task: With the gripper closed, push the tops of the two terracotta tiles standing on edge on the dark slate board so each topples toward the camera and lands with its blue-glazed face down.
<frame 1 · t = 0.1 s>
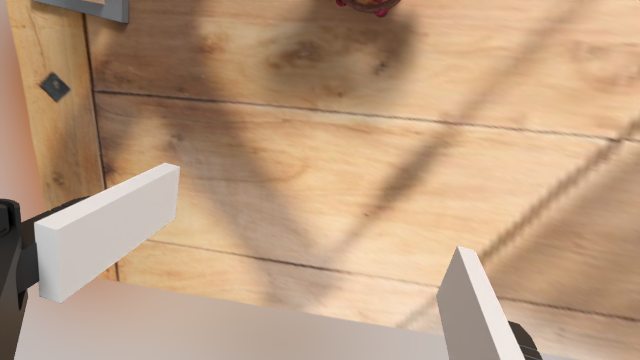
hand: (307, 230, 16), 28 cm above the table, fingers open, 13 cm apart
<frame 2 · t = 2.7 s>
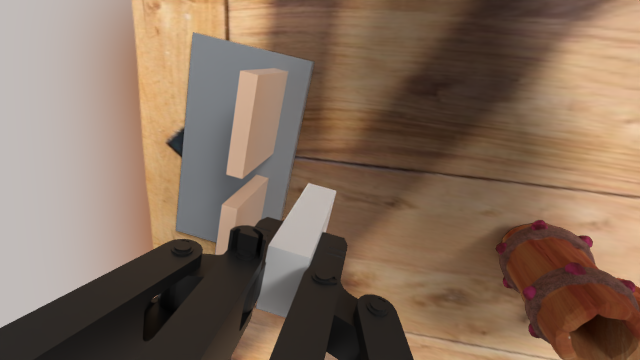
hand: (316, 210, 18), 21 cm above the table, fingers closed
mug: (554, 253, 39), on the table
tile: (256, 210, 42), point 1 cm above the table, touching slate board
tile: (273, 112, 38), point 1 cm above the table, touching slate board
slate board: (239, 153, 41), on the table
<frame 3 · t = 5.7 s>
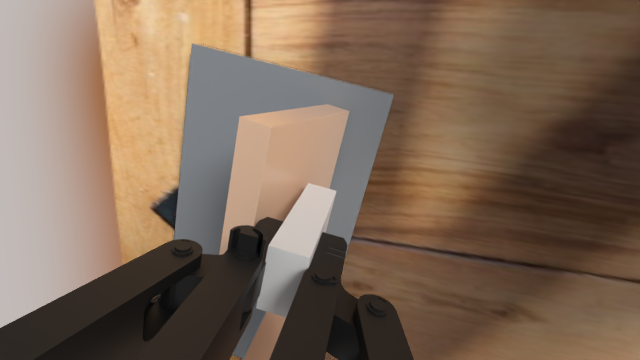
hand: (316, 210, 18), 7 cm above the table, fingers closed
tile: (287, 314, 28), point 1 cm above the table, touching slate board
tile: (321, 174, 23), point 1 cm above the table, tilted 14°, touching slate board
slate board: (263, 228, 27), on the table
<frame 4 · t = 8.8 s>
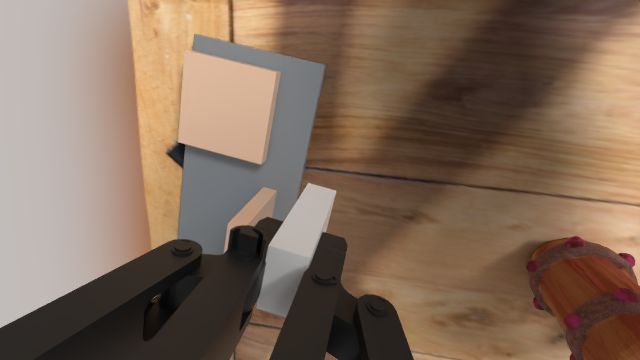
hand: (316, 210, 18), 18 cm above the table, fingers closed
mug: (588, 270, 36), on the table
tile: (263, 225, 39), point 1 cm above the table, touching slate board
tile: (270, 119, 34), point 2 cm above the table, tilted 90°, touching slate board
slate board: (245, 164, 38), on the table
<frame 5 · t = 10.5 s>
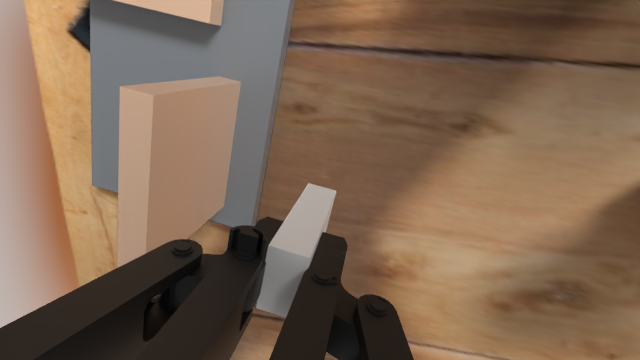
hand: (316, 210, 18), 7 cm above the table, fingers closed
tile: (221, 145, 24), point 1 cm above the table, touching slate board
slate board: (191, 42, 24), on the table
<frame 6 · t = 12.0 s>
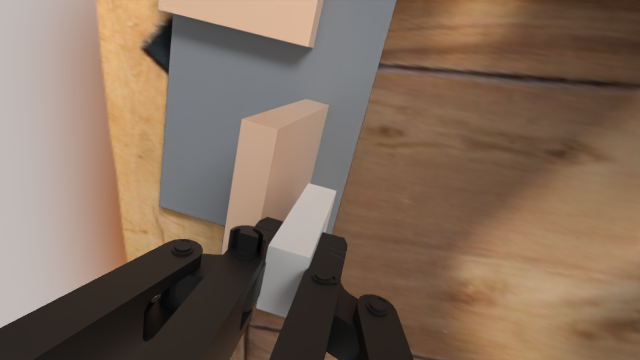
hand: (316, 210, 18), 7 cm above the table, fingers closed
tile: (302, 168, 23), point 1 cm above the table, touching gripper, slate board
slate board: (274, 63, 23), on the table
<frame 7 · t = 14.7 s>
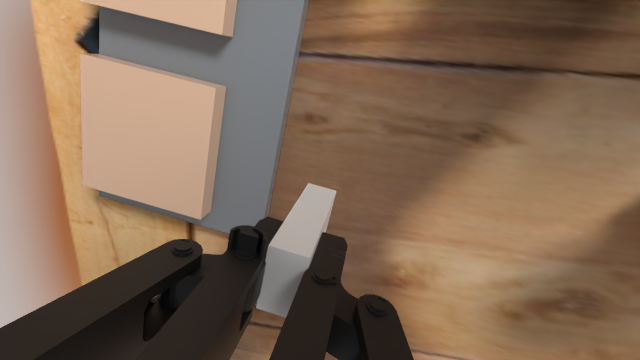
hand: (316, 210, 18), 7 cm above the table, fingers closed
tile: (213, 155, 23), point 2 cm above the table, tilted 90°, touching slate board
slate board: (201, 53, 23), on the table
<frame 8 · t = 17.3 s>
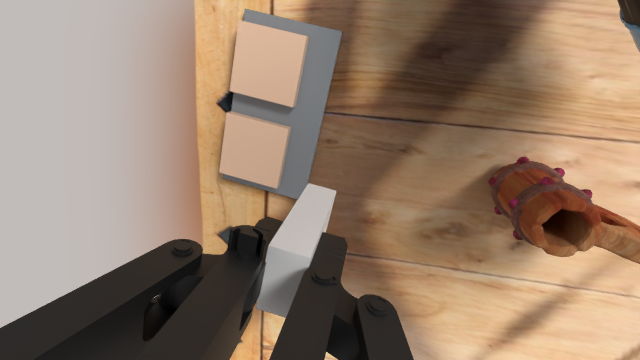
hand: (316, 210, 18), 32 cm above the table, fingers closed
mug: (536, 188, 48), on the table
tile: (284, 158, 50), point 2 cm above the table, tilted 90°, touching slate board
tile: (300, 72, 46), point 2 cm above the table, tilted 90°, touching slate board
slate board: (278, 110, 50), on the table
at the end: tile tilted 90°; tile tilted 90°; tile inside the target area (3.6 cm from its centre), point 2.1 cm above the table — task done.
